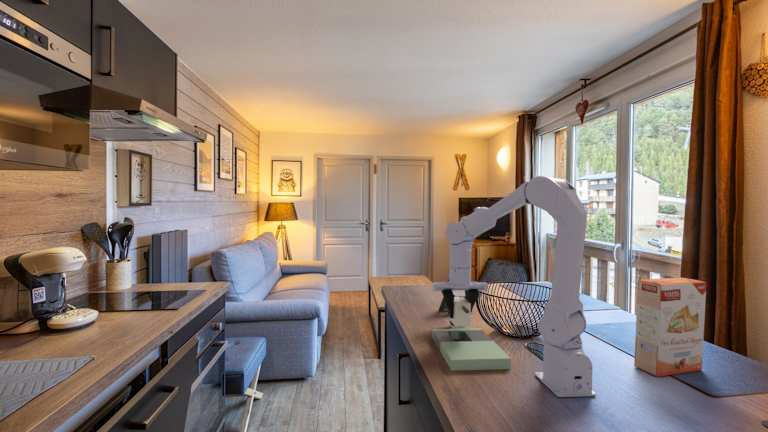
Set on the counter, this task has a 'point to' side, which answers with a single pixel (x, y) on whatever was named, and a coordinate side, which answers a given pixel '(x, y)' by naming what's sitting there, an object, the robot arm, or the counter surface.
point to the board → (470, 350)
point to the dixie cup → (460, 294)
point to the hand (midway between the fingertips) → (459, 317)
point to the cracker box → (670, 325)
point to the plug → (461, 312)
